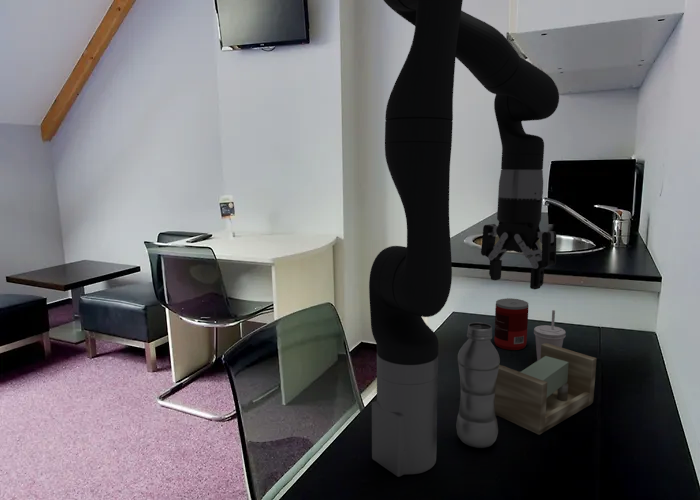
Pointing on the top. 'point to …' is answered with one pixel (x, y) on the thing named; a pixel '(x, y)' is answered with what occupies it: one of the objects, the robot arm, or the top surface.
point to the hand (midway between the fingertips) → (514, 284)
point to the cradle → (545, 392)
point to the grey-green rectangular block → (549, 372)
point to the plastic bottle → (478, 387)
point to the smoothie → (548, 335)
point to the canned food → (511, 323)
